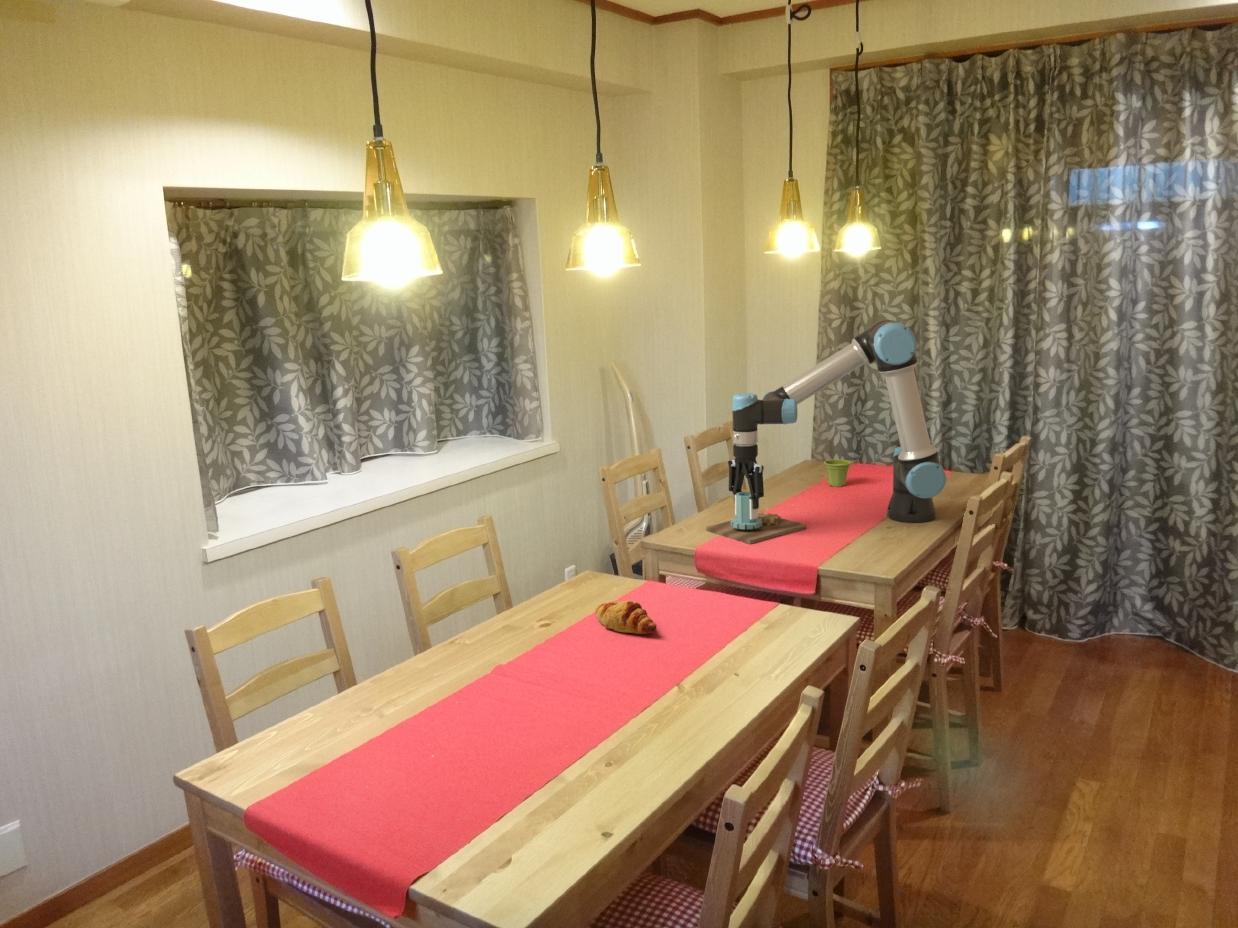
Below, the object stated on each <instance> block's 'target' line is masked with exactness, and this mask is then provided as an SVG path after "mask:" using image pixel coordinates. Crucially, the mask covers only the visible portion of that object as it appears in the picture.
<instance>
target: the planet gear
mask: <svg viewBox="0 0 1238 928" xmlns="http://www.w3.org/2000/svg"><path fill="white" fill-rule="evenodd" d="M750 498H751V493H750V491H742V492H739V493H736V514H737V515H736V517H733V518H731V519H730V521H731V526H732V527H733V528H736V529H738V528H739V529H753V528H754V529H756V528H759V527H761V526H762V519H760V518H756V519H752V520H751V519H750V501H749V499H750Z"/></svg>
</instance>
